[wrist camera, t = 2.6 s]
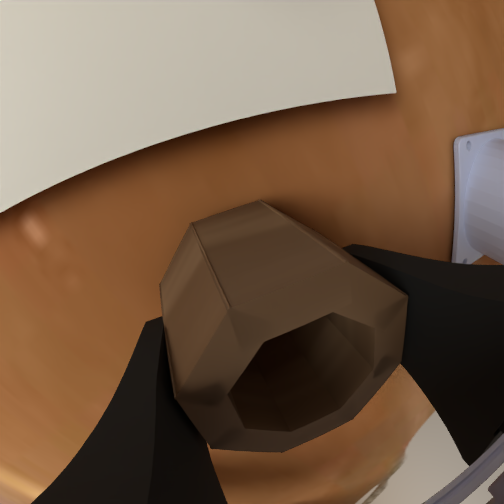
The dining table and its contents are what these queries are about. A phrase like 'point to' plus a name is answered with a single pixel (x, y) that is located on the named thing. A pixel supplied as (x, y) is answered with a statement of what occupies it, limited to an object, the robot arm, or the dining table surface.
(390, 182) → the dining table surface
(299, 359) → the walnut bead
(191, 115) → the white rectangular board
